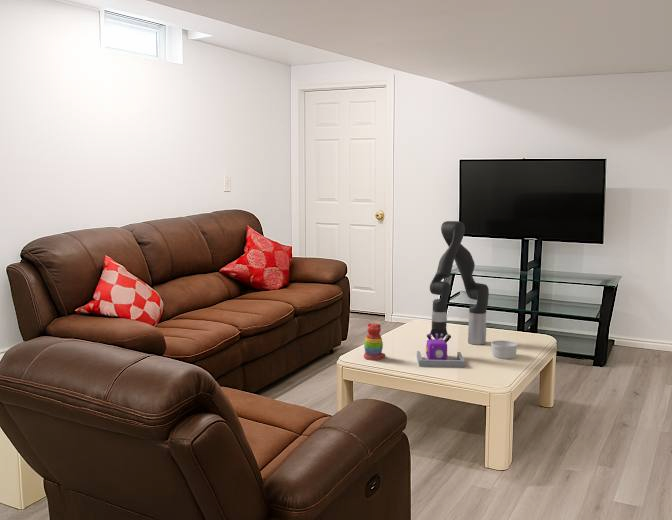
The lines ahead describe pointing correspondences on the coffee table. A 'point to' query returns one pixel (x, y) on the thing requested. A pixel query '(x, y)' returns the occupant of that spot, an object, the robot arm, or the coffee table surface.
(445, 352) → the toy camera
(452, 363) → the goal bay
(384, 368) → the coffee table surface
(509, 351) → the ramekin
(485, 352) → the coffee table surface
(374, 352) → the stacking bear
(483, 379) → the coffee table surface
